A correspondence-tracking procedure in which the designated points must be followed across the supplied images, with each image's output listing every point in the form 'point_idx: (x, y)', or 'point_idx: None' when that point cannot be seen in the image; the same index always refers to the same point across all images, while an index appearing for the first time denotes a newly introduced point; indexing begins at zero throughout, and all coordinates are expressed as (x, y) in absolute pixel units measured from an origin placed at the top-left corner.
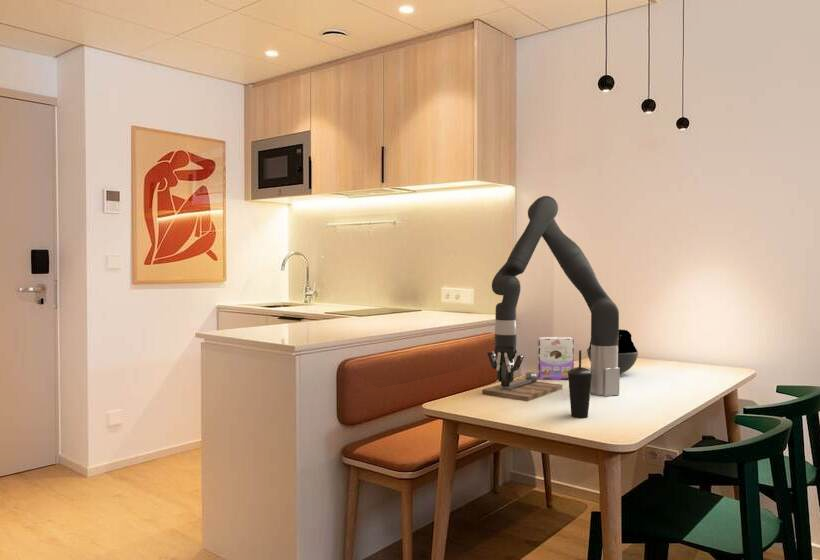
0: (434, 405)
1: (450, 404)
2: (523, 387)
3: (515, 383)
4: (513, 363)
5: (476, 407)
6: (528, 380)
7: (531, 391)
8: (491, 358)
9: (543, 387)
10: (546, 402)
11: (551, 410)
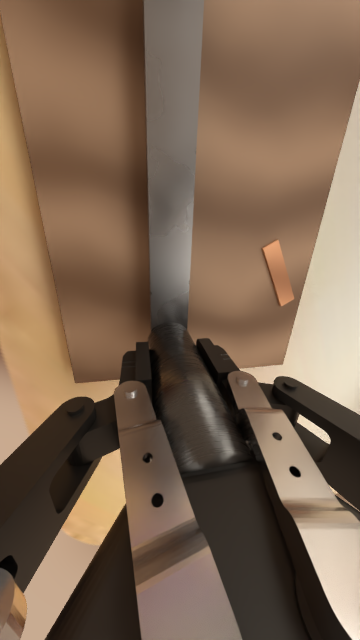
0: (86, 531)
1: (109, 506)
2: (204, 199)
3: (183, 252)
4: (279, 419)
5: None
6: (200, 35)
7: (275, 284)
8: (21, 582)
9: (303, 117)
10: (327, 329)
11: (347, 394)
